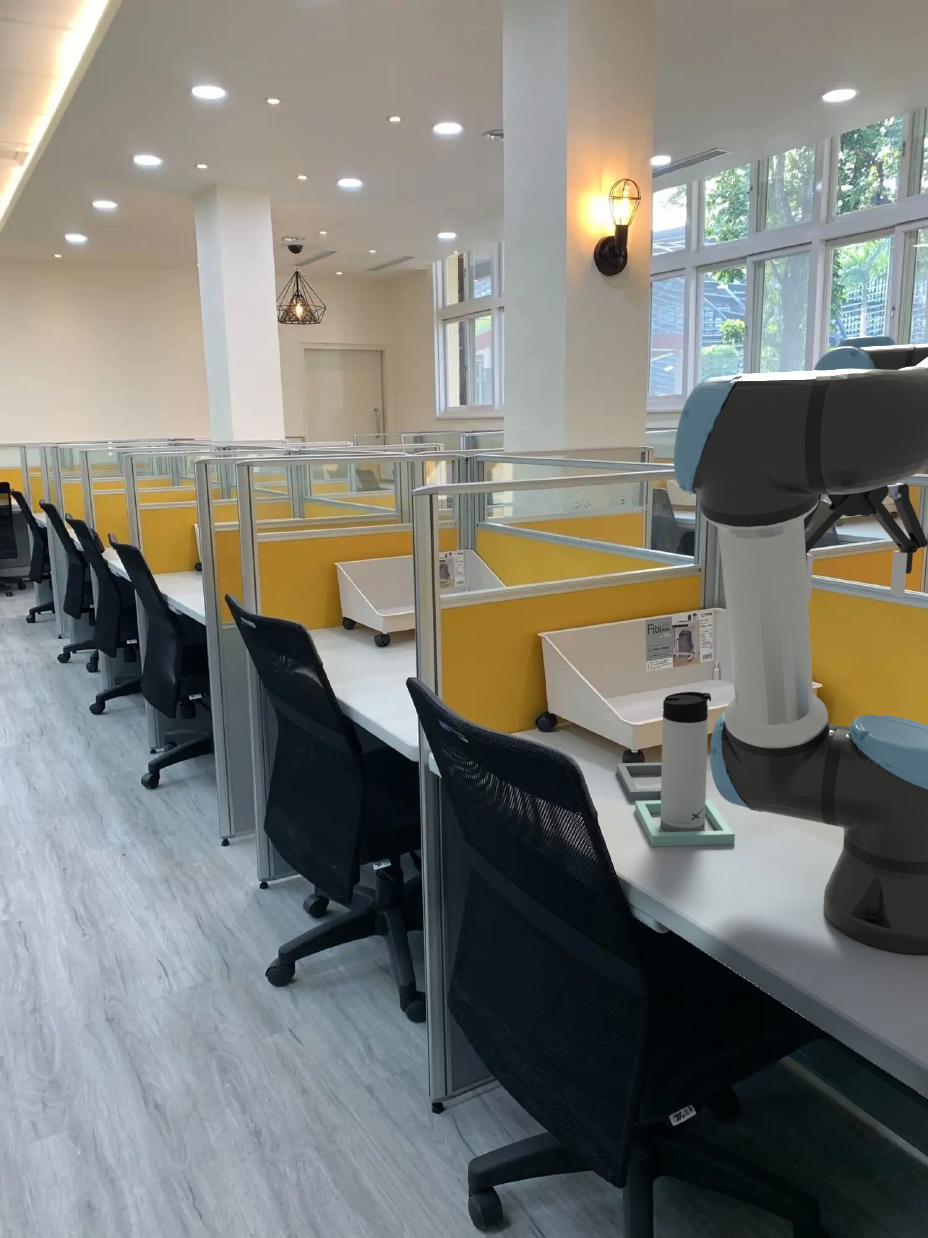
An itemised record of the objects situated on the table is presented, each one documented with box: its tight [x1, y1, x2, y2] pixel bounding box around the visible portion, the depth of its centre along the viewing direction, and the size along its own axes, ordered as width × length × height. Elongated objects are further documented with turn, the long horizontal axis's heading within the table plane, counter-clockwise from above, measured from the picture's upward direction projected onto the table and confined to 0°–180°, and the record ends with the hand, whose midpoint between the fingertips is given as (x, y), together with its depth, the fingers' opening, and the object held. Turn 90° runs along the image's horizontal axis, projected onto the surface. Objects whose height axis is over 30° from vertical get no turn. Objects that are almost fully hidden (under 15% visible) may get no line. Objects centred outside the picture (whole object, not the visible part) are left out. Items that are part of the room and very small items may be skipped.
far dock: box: [616, 761, 662, 802], centre depth 148 cm, size 16×11×2 cm
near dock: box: [634, 798, 736, 847], centre depth 134 cm, size 12×11×2 cm
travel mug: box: [660, 691, 712, 832], centre depth 132 cm, size 6×7×20 cm
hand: (850, 597), depth 136 cm, fingers open, 13 cm apart
